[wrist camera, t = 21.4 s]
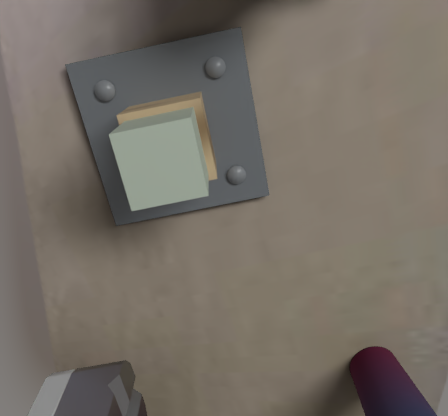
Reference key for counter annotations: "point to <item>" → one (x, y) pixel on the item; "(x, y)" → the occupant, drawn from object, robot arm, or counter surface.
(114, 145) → the sage block
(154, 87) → the build plate
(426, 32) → the counter surface
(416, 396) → the cup
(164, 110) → the oak block
